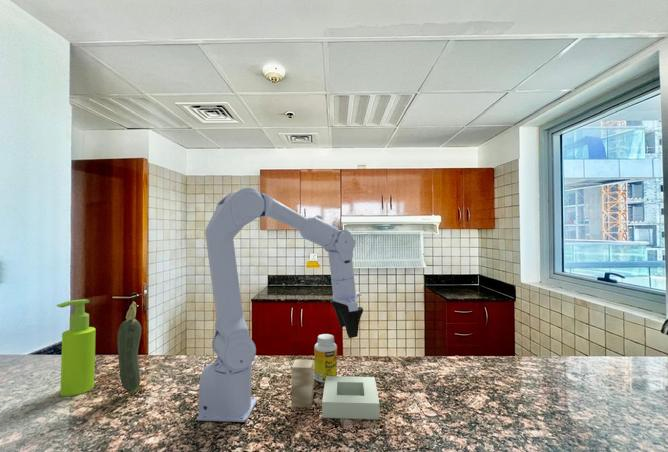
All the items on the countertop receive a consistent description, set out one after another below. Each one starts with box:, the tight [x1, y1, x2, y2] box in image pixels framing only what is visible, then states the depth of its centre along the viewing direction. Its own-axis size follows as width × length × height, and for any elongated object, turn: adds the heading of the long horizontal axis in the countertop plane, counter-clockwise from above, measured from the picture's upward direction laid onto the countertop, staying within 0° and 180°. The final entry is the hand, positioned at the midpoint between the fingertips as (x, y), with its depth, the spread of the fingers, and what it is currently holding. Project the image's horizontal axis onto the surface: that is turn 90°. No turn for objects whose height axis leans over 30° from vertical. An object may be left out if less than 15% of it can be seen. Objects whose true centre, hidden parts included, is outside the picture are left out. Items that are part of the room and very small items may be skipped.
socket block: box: [321, 375, 381, 420], centre depth 65 cm, size 11×11×3 cm
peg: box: [291, 359, 314, 408], centre depth 66 cm, size 4×4×8 cm
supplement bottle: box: [313, 333, 338, 384], centre depth 77 cm, size 6×6×10 cm
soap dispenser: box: [56, 298, 97, 397], centre depth 70 cm, size 6×7×20 cm
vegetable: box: [116, 300, 142, 394], centre depth 69 cm, size 4×4×20 cm
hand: (348, 331), depth 78 cm, fingers open, 7 cm apart
